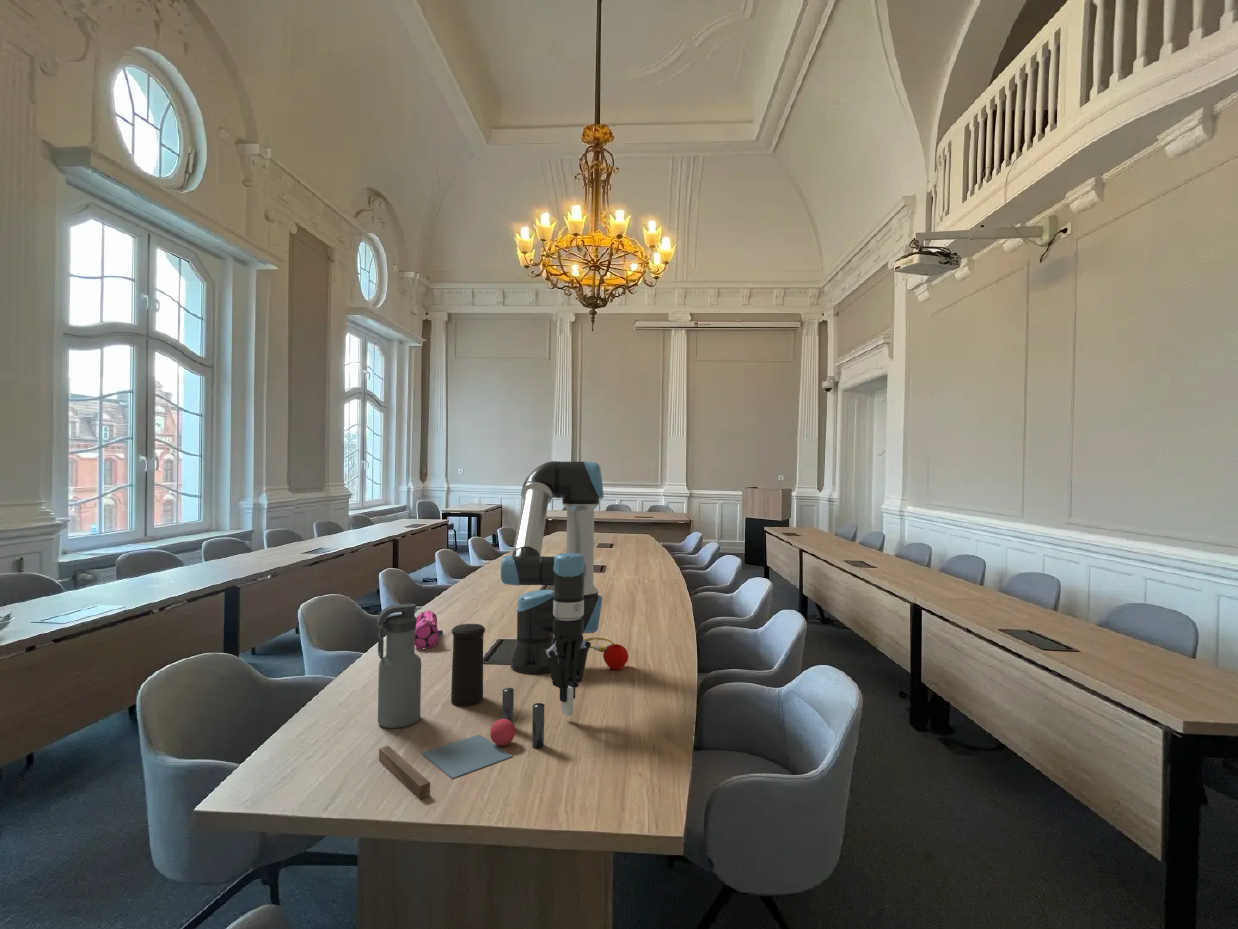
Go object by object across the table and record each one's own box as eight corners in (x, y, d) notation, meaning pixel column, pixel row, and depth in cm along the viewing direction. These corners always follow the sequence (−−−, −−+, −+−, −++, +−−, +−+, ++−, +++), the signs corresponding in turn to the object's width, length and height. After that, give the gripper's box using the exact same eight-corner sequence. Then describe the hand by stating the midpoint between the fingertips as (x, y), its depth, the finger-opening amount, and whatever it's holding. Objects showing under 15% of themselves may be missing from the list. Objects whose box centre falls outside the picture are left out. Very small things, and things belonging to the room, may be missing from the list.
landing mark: (479, 735, 137) (479, 734, 137) (512, 757, 127) (512, 756, 127) (421, 754, 128) (421, 753, 128) (452, 779, 118) (452, 778, 118)
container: (490, 697, 161) (491, 622, 161) (471, 709, 153) (472, 631, 153) (462, 692, 164) (464, 620, 164) (443, 704, 155) (444, 627, 156)
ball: (509, 717, 137) (491, 713, 134) (523, 725, 133) (504, 722, 130) (500, 741, 136) (481, 738, 132) (514, 751, 132) (495, 748, 128)
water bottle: (377, 733, 138) (380, 612, 138) (373, 717, 147) (376, 603, 147) (423, 725, 143) (425, 608, 143) (416, 710, 151) (418, 600, 152)
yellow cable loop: (581, 653, 203) (581, 647, 203) (581, 640, 219) (581, 635, 219) (616, 653, 204) (617, 647, 204) (614, 640, 219) (614, 635, 219)
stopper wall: (388, 757, 126) (388, 745, 126) (429, 796, 111) (430, 782, 111) (378, 760, 125) (379, 748, 125) (419, 799, 110) (419, 786, 110)
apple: (604, 663, 190) (604, 640, 191) (628, 664, 190) (629, 641, 190) (601, 672, 182) (602, 648, 183) (627, 673, 182) (627, 648, 182)
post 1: (509, 724, 143) (509, 687, 144) (515, 728, 141) (515, 690, 142) (500, 727, 142) (500, 689, 142) (505, 731, 140) (506, 692, 140)
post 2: (539, 742, 134) (540, 702, 134) (546, 746, 132) (546, 705, 132) (529, 745, 132) (530, 705, 132) (536, 749, 130) (537, 708, 131)
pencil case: (442, 649, 205) (443, 619, 205) (413, 651, 202) (413, 622, 202) (438, 633, 225) (439, 606, 225) (411, 635, 222) (412, 608, 222)
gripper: (556, 624, 139) (554, 725, 138) (598, 615, 148) (597, 711, 147) (537, 618, 144) (536, 716, 144) (579, 610, 153) (578, 702, 153)
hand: (567, 713), depth 146 cm, fingers closed
